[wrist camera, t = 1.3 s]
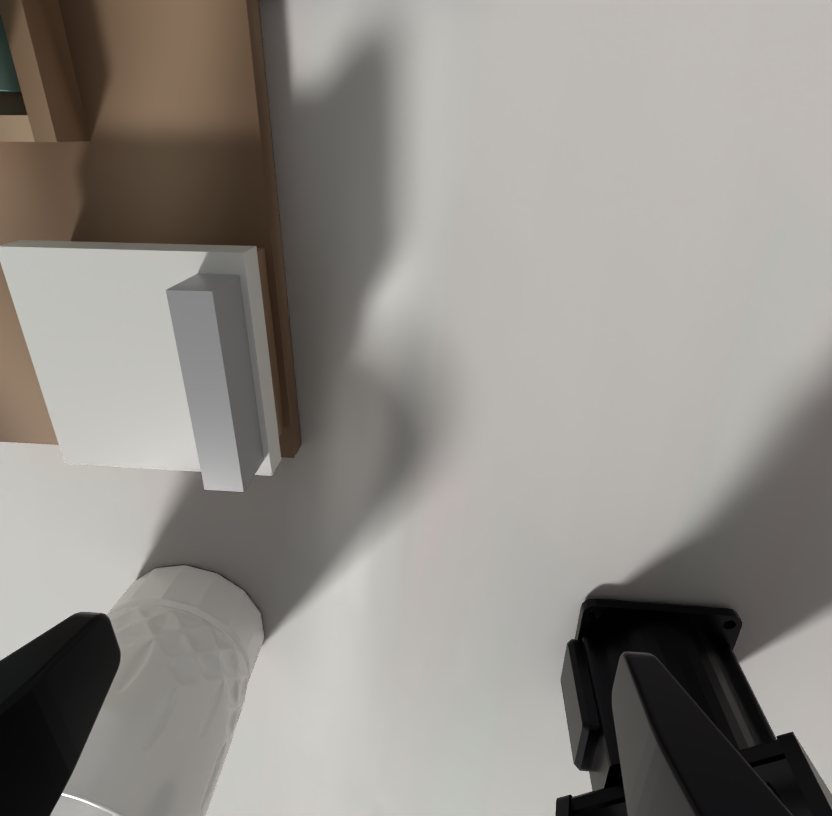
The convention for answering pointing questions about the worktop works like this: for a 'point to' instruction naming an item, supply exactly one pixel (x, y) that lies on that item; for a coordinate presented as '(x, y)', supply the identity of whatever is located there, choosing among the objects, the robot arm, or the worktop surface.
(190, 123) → the board
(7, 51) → the block
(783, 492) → the worktop surface
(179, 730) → the white cup
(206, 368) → the lid
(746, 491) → the worktop surface
